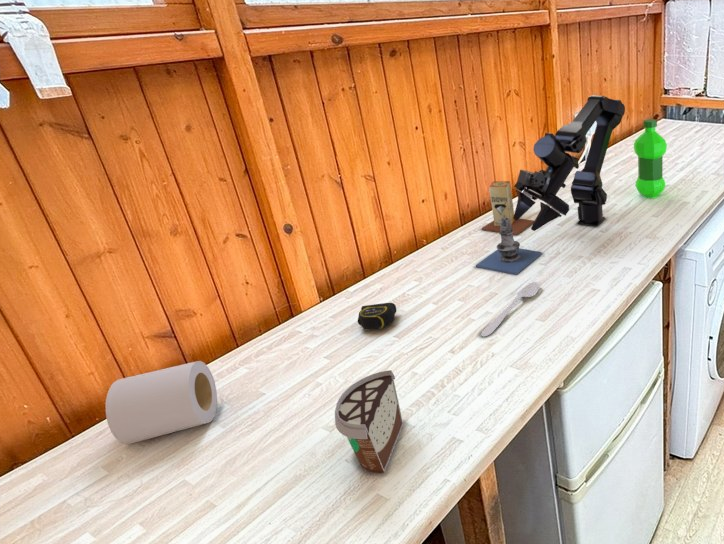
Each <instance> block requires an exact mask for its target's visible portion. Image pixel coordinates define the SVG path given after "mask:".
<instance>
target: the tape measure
mask: <svg viewBox="0 0 724 544" xmlns="http://www.w3.org/2000/svg"><path fill="white" fill-rule="evenodd" d="M396 313H397V306H396V304H395V303H394V302H384V303H375V304H367V305H362V306H361V308H360V311H359V313H358V317H357V324H358V325H359V326H360V327H362V329H363V330H366V331H377V330H381V329H384V328H387V327H388V326H390V325H391V324H392V323H393V322H394V321H395V319H396Z"/></svg>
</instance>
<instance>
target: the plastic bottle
mask: <svg viewBox="0 0 724 544" xmlns="http://www.w3.org/2000/svg"><path fill="white" fill-rule="evenodd" d="M642 122H643V123H642V126H643V128H644V132H642V134H640V135H639V136H638V137H637V138H636V139H635V140H634V143H633V149H634V153H635V154H636V155H637V166H638V167H637V169H638V172H637V173H638V175H637V176H638V177H637V179H636V180H635V188H636V190H637V191H638V193H639V194H640V195H641V196H643V197H644V198H646V199H654V198H657V197H659V195H660V194H661V193H663V191H664V190H665V188H666V180H665V179H664V177H663V160H664V159H663V156H664V155H666V152H667V149H668V147H667V146H668V144H667V142H666V139H664V138H663V136H661V135H660V134H659V133H658V132H657V131H656V128H657V127H658V120H657V119H655V118H648V119H644V120H642Z"/></svg>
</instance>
